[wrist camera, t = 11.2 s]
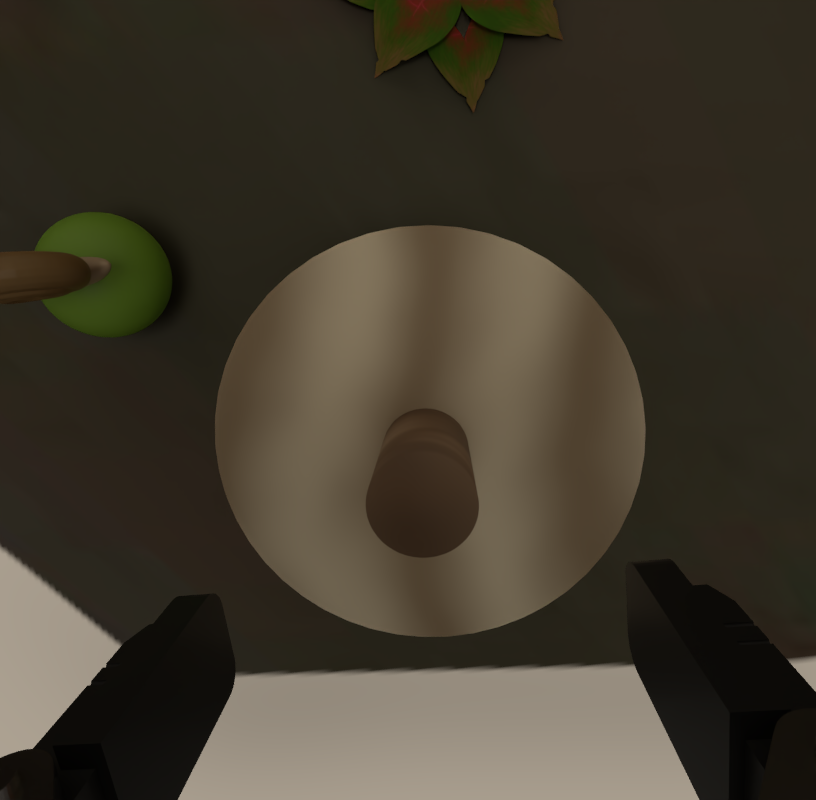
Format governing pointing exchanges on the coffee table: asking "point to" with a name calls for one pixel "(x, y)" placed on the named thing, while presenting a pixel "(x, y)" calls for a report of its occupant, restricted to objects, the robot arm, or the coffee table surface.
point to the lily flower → (456, 34)
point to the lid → (430, 431)
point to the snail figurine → (92, 275)
